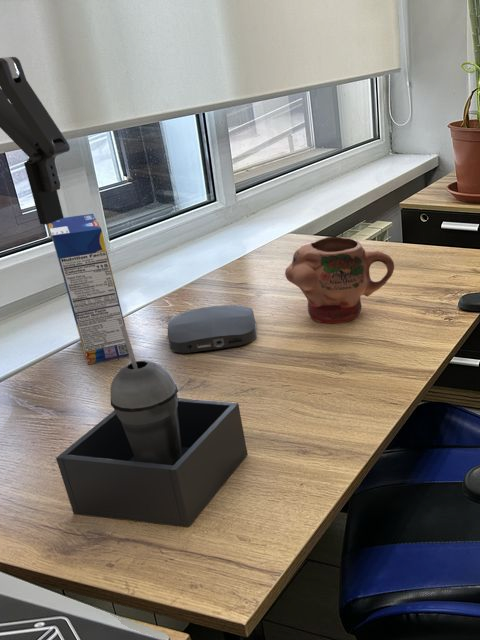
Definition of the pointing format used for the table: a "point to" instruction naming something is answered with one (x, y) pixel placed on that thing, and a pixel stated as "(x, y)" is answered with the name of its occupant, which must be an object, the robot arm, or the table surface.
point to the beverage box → (90, 286)
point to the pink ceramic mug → (335, 277)
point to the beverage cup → (147, 409)
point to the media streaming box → (211, 328)
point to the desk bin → (155, 467)
